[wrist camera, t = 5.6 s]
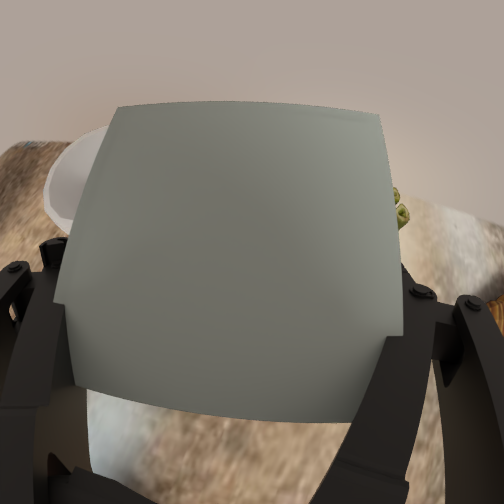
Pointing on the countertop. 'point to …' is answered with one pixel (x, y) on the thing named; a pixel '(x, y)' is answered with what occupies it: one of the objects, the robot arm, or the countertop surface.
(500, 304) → the croissant
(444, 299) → the countertop surface
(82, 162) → the foam cup
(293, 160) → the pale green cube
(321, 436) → the countertop surface
